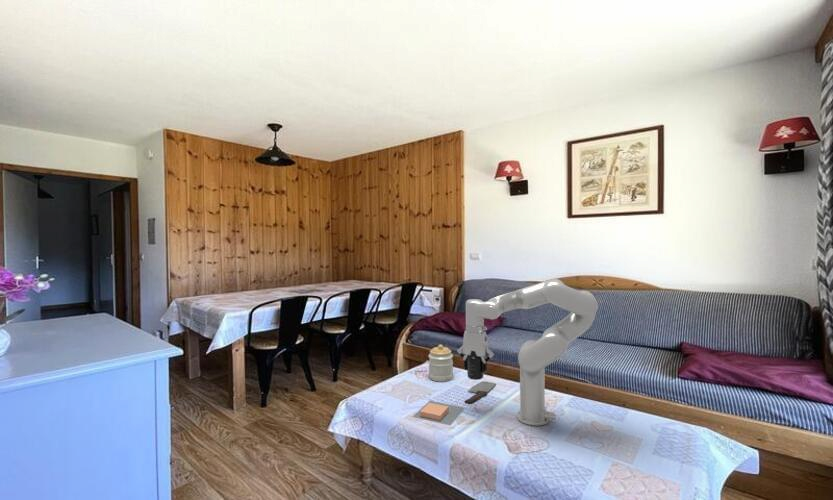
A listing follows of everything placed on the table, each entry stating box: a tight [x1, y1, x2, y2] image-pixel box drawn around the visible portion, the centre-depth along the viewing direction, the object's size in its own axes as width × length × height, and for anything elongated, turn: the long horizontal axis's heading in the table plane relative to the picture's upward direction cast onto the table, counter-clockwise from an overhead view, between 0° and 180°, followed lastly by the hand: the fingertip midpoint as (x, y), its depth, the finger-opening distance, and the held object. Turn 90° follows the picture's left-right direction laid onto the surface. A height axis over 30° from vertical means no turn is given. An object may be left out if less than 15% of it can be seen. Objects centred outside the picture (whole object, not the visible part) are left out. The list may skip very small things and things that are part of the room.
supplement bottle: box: [466, 351, 484, 381], centre depth 162 cm, size 7×7×12 cm
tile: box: [420, 403, 449, 421], centre depth 158 cm, size 9×2×9 cm
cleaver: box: [464, 380, 497, 405], centre depth 181 cm, size 29×10×2 cm, turn 149°
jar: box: [428, 344, 454, 383], centre depth 201 cm, size 13×13×18 cm
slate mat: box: [412, 400, 466, 426], centre depth 160 cm, size 17×17×1 cm
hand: (475, 369), depth 162 cm, fingers closed on supplement bottle, 6 cm apart
